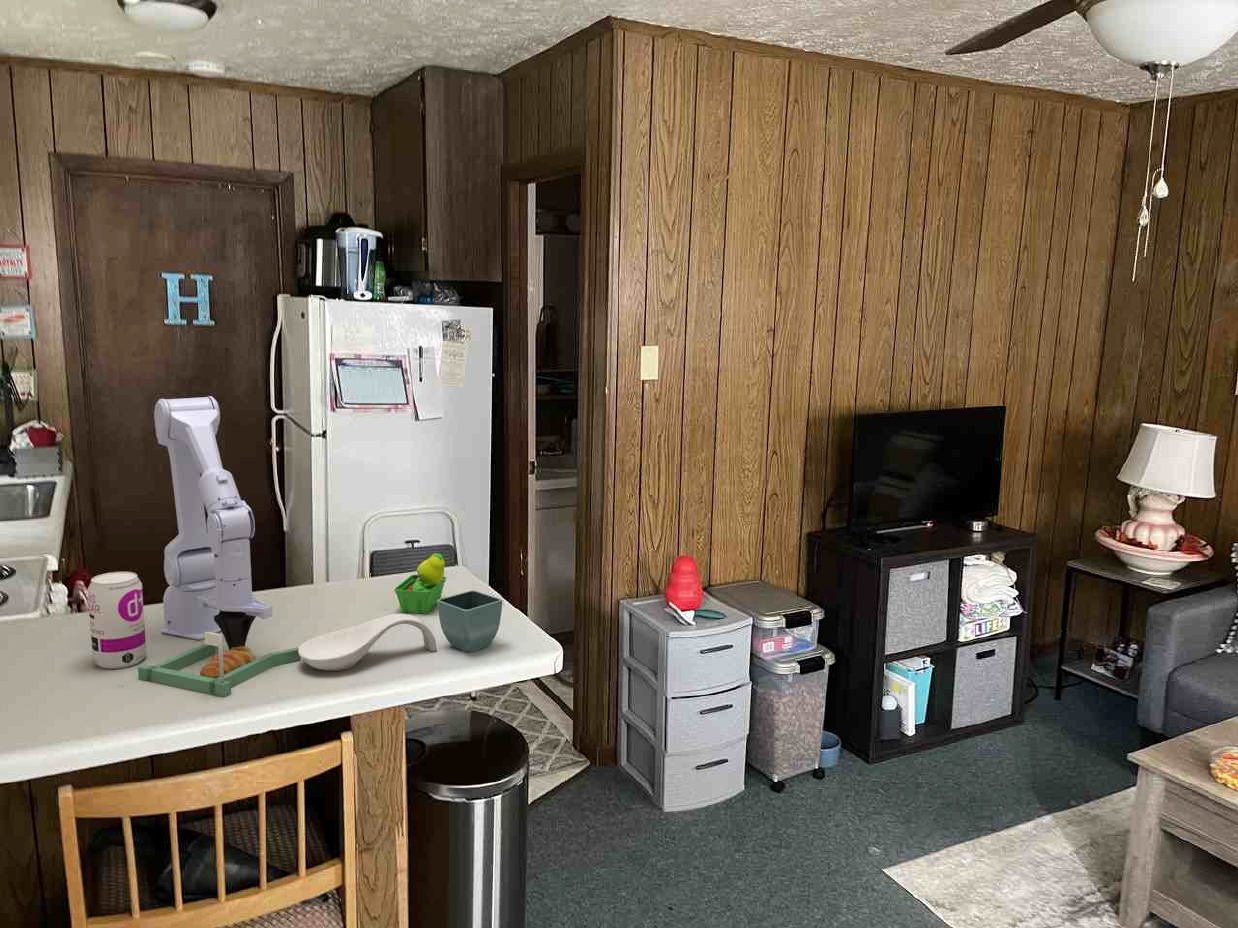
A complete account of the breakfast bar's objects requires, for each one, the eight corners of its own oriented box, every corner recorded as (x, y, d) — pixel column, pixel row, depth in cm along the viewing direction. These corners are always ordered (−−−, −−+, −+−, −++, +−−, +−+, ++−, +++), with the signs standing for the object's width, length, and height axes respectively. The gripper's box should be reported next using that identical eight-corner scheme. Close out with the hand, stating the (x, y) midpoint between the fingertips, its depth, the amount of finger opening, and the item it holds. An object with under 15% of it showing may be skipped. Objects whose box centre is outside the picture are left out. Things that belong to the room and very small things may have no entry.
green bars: (135, 678, 162) (131, 620, 161) (217, 642, 179) (214, 589, 177) (227, 697, 156) (224, 637, 154) (303, 658, 172) (301, 604, 170)
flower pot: (435, 646, 180) (435, 599, 178) (473, 634, 186) (473, 589, 184) (465, 659, 174) (465, 610, 172) (504, 646, 180) (504, 599, 178)
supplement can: (157, 656, 172) (151, 573, 169) (119, 673, 164) (113, 586, 162) (121, 649, 175) (115, 568, 172) (82, 666, 167) (75, 581, 164)
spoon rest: (307, 683, 162) (306, 642, 161) (291, 659, 172) (290, 620, 171) (444, 659, 174) (443, 620, 173) (421, 638, 184) (421, 601, 183)
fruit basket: (412, 596, 208) (411, 545, 206) (453, 599, 207) (452, 547, 205) (393, 614, 197) (392, 559, 195) (435, 616, 196) (435, 562, 194)
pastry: (221, 688, 159) (220, 666, 158) (188, 682, 161) (187, 660, 161) (261, 668, 168) (260, 647, 167) (229, 662, 170) (228, 641, 169)
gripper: (283, 575, 169) (286, 650, 172) (217, 565, 174) (221, 638, 177) (254, 586, 163) (258, 664, 165) (186, 575, 168) (191, 651, 170)
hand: (237, 652), depth 171 cm, fingers closed
